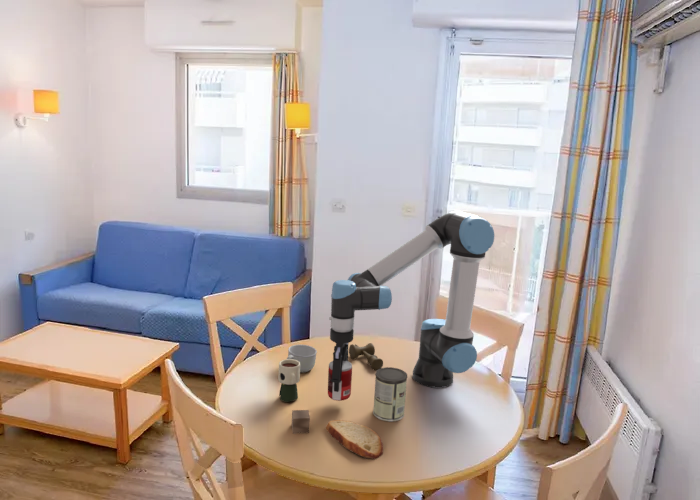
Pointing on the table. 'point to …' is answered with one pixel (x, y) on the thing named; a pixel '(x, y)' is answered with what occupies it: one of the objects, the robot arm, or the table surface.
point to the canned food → (345, 378)
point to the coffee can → (390, 394)
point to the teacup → (303, 356)
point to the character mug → (289, 379)
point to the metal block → (300, 421)
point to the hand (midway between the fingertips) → (339, 393)
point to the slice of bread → (356, 438)
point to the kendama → (366, 355)
